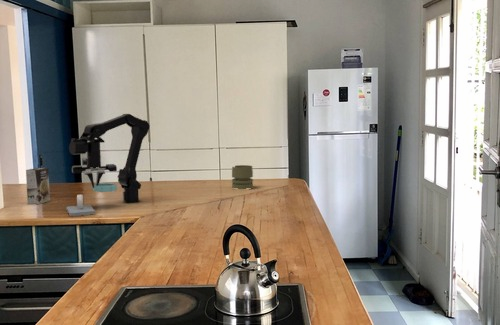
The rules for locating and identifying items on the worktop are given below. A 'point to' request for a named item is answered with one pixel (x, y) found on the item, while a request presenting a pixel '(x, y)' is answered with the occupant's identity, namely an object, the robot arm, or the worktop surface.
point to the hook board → (79, 212)
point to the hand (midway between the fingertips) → (95, 187)
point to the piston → (242, 176)
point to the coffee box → (37, 185)
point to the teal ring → (105, 187)
